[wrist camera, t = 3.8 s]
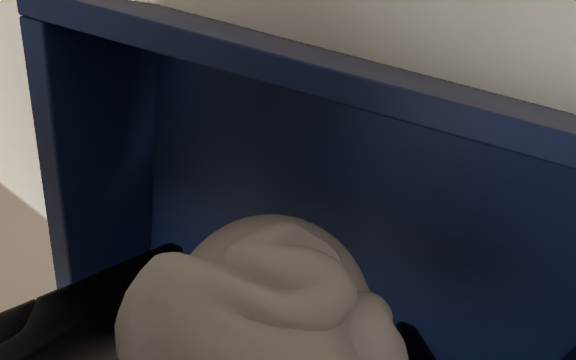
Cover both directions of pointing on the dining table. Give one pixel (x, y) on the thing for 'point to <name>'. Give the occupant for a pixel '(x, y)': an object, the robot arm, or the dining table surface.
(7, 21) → the dining table surface
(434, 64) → the dining table surface
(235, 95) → the lunchbox
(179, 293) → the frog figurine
